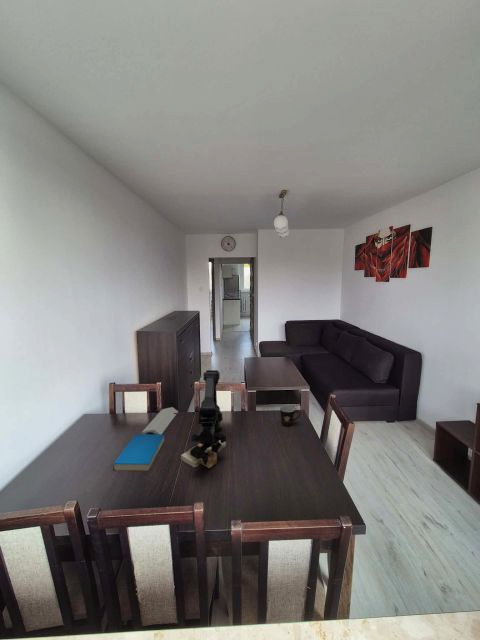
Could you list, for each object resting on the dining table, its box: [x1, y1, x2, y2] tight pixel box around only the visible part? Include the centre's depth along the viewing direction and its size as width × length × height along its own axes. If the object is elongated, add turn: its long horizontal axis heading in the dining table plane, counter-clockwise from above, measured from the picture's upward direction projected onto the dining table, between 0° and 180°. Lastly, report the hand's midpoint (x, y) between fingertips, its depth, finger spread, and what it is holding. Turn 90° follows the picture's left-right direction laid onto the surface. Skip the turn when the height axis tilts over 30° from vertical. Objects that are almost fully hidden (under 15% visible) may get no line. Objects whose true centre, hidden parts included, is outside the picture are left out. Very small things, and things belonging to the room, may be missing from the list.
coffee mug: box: [279, 405, 301, 428], centre depth 168 cm, size 12×9×10 cm
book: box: [112, 433, 165, 472], centre depth 141 cm, size 17×4×25 cm
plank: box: [180, 440, 227, 468], centre depth 142 cm, size 22×10×2 cm, turn 141°
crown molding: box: [140, 406, 179, 435], centre depth 174 cm, size 29×12×4 cm, turn 173°
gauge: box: [201, 450, 218, 469], centre depth 132 cm, size 5×5×6 cm
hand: (209, 461), depth 132 cm, fingers closed on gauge, 5 cm apart
